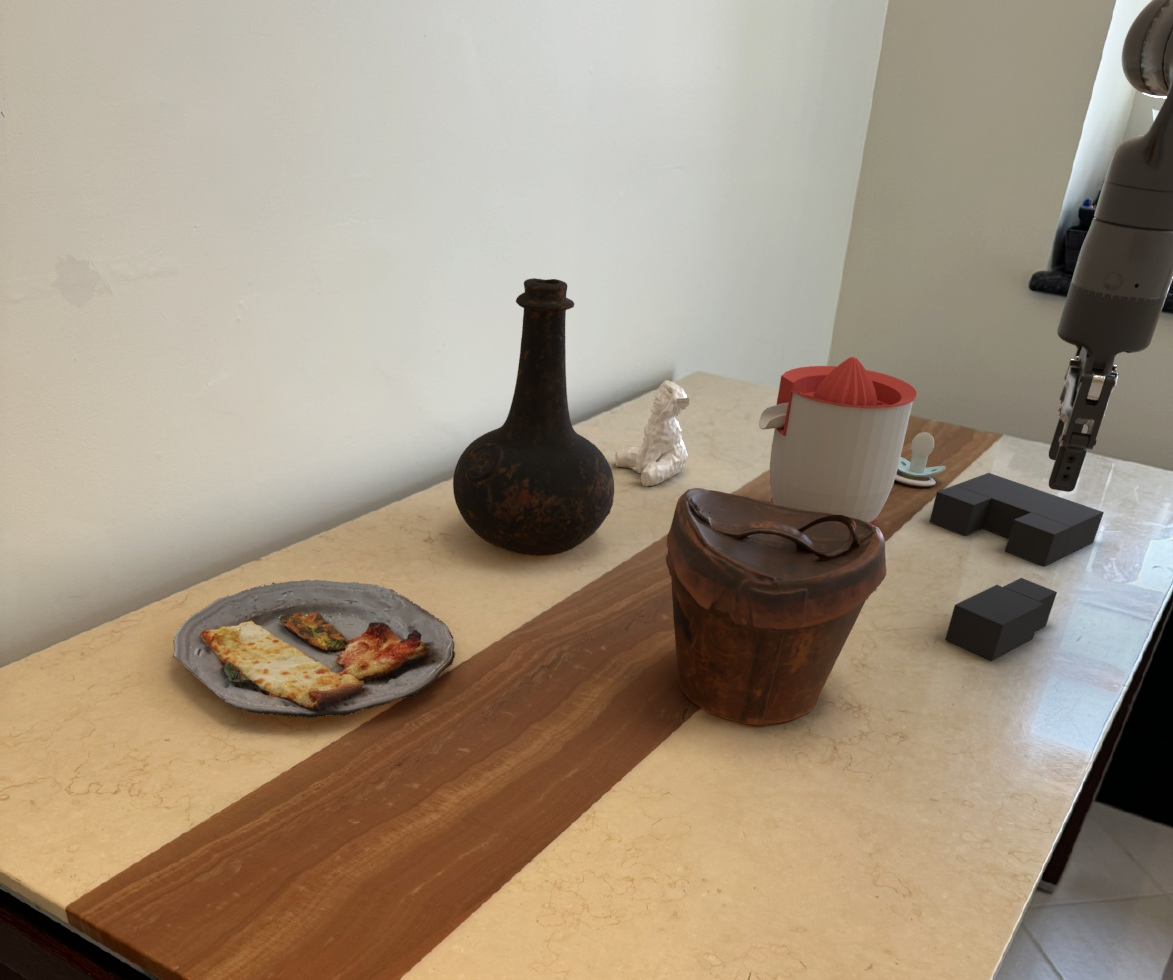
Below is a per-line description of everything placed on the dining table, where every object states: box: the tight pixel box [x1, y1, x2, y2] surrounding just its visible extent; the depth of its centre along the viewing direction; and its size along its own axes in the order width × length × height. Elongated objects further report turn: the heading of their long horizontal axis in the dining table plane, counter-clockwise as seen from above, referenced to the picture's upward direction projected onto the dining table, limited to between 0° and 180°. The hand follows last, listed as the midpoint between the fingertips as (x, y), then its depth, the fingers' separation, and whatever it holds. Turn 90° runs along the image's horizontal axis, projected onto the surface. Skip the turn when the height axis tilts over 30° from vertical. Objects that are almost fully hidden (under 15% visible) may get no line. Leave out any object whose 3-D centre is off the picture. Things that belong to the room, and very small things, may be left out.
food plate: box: [172, 579, 456, 719], centre depth 101 cm, size 25×23×4 cm
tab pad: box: [944, 577, 1058, 662], centre depth 114 cm, size 6×12×4 cm, turn 132°
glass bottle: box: [452, 277, 615, 557], centre depth 119 cm, size 18×18×28 cm
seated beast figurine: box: [614, 379, 690, 487], centre depth 144 cm, size 10×9×12 cm
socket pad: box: [929, 472, 1104, 567], centre depth 137 cm, size 16×12×4 cm
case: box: [665, 487, 888, 726], centre depth 97 cm, size 18×20×18 cm
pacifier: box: [894, 431, 947, 487], centre depth 149 cm, size 7×6×6 cm
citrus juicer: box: [758, 356, 918, 525], centre depth 130 cm, size 16×17×20 cm
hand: (1059, 474), depth 101 cm, fingers open, 8 cm apart
